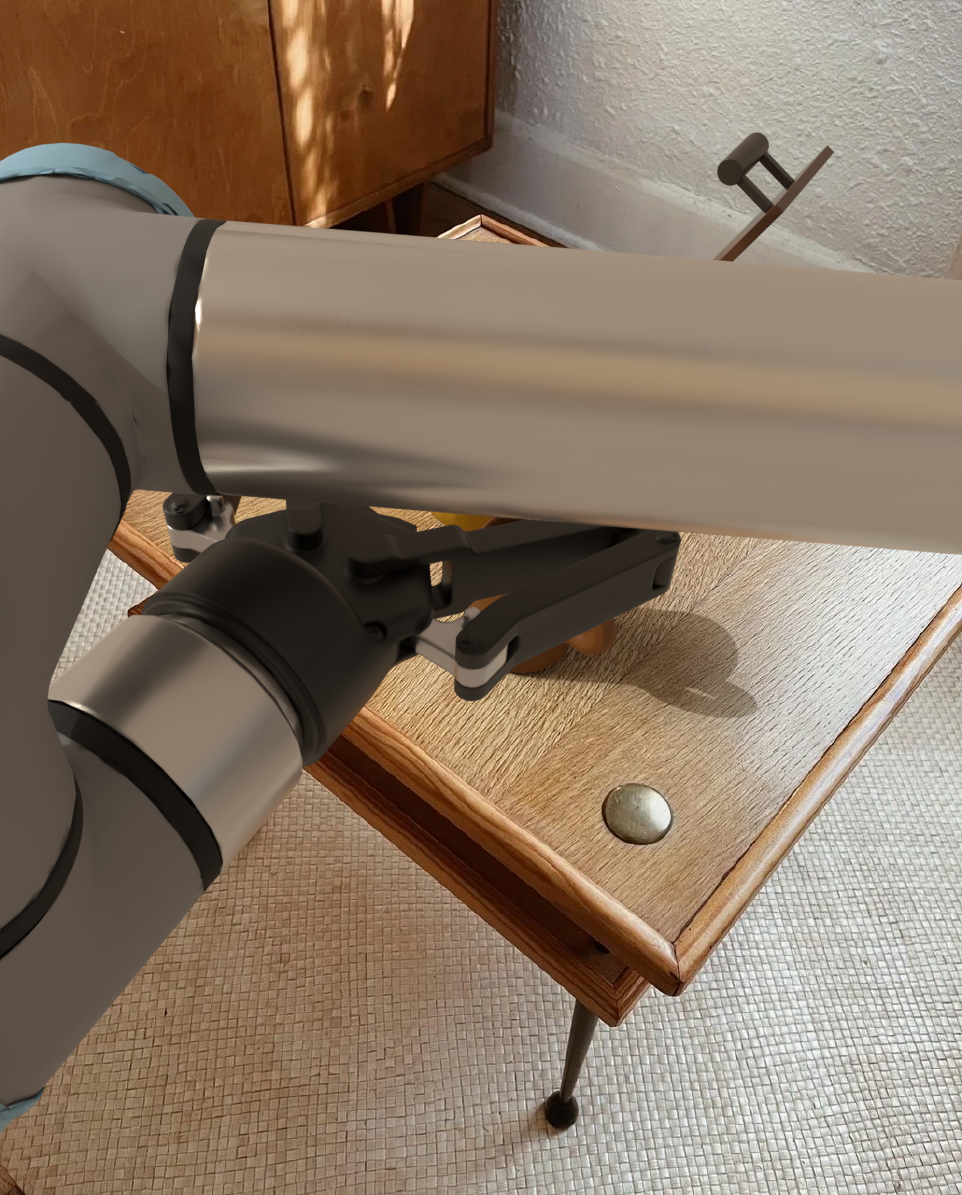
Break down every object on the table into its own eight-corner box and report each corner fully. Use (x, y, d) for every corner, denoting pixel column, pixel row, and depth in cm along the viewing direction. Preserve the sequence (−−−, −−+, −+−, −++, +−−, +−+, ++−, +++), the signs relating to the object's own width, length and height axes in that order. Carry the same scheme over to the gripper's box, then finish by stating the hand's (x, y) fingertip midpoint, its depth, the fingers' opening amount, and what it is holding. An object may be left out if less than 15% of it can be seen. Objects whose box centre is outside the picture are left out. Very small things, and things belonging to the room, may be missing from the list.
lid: (834, 152, 81) (783, 98, 81) (783, 212, 73) (726, 153, 73) (700, 283, 94) (656, 238, 93) (645, 347, 86) (596, 297, 86)
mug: (636, 680, 73) (659, 588, 66) (559, 735, 69) (574, 643, 62) (523, 585, 79) (533, 491, 72) (447, 630, 75) (449, 537, 69)
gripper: (-20, 620, 40) (312, 362, 53) (554, 941, 32) (778, 542, 45) (-90, 468, 34) (300, 222, 47) (581, 809, 26) (828, 399, 39)
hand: (533, 377), depth 46 cm, fingers open, 13 cm apart
